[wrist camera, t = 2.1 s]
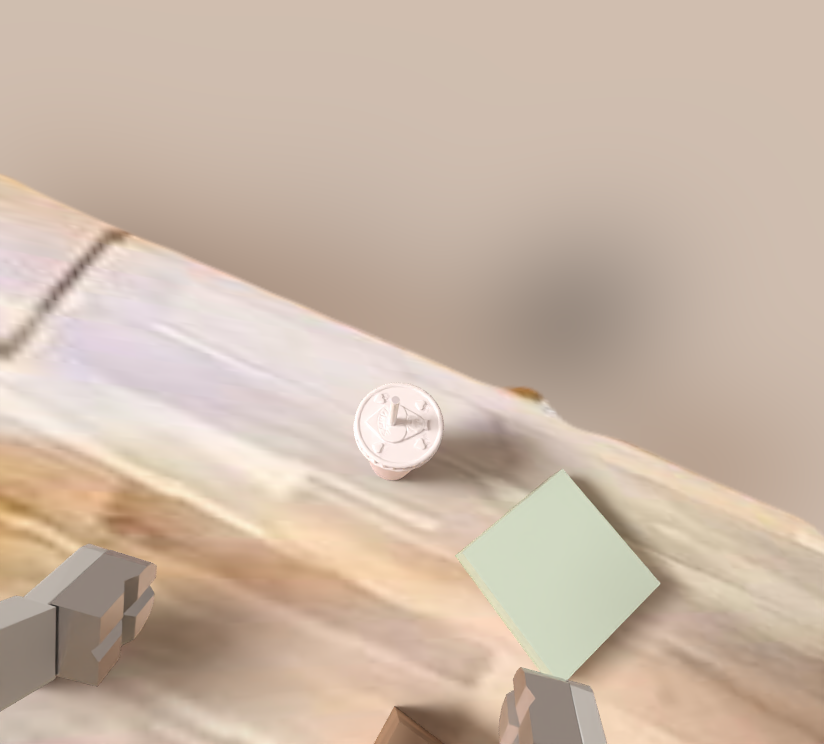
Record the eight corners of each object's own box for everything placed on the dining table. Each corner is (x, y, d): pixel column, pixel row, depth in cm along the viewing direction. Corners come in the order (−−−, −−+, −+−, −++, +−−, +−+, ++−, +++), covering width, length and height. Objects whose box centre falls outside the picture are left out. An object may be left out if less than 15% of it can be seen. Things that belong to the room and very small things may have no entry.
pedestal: (640, 584, 41) (660, 583, 38) (546, 680, 37) (561, 686, 35) (550, 477, 44) (562, 468, 41) (455, 555, 41) (462, 552, 38)
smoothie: (356, 422, 45) (355, 351, 32) (427, 425, 45) (454, 356, 32) (352, 495, 42) (349, 448, 29) (428, 497, 42) (457, 452, 30)
